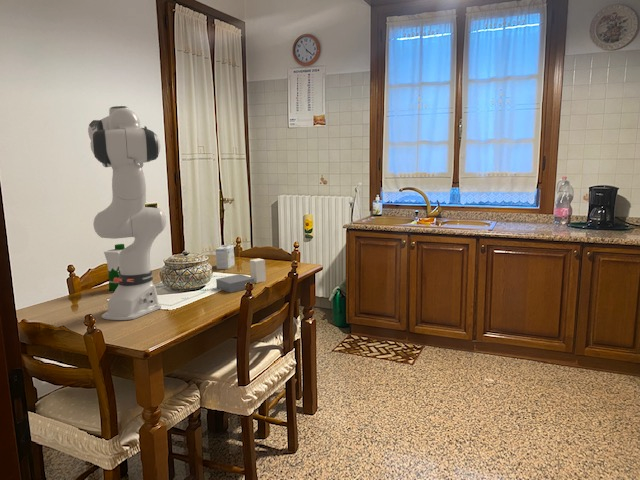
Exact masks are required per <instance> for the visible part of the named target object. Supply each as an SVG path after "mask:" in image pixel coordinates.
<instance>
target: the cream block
mask: <svg viewBox="0 0 640 480" xmlns="http://www.w3.org/2000/svg"><path fill="white" fill-rule="evenodd" d="M249 271H250V273H249V274H250V277H251V278H254V284H255V283H256V284H260V283H264V282H266V281H267V276H266V275H267V274H266V273H267V272H266V259H263V258H253V259H249Z"/></svg>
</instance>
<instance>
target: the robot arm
mask: <svg viewBox="0 0 640 480" xmlns="http://www.w3.org/2000/svg"><path fill="white" fill-rule="evenodd" d="M108 111H109V112H108V113H109V115H107V116H105V117H103V118H102V119H100V120H99V119H94V120H92V121H91V122H90V123H89V124H88V129H87V133H88V136H89V139H90V149H91V153H92V154H93V156H94V158H95V159H96V160H97V161H98V162H99V163H101V164H102V165H101V166H103V167H104V168H111V169H112V176H111V177H112V178H111V191H112V198H111V199H112V201H111V203H110V204H109V205H108V206H107V207H106V208H104V210H102V211H100V212H97V214H96V215H95V216H94V218H93V230H94V232H95V234H97V236H98V237H99V238H102V239H111V240H114V239H116V240H117V239H124V238H125V239H127V238H134V241H132V243H131V244H130V245H128V246H125V248H124V249H123V250H122V251H121V252H120V254H119V264H120V275H119V278H116V277H115V278H114V279H113V281H114V283H118V284H119V285H118V287H117V289H116V290H115V291H113V293H112V295H111V296H110V298H109V299H108V301H107V311H105V312H104V313H103V314H101V318H102V319H104V320H109V321H127V320H135V319H137V318H140V317H142V316H145V315H147V314H150V313H152V312H155V311H157V310H160V309H161V308H162V305H161V304H160V303H159V298H158V293H157V289H156V286H155V284H154V283H153V279H154V276H153V275H154V274H153V270H152V269H151V249H152V245H153V243H154V241H155V240H156V238H157V237H158V236H159V235H160V234H161V233H162V232H163V231H164V230H165V229H166V226H167V218H166V215H165V213H164V212H163V210H162V209H160V208H157V207H150V206H146V203H147V202H146V201H147V198H146V197H147V194H146V193H147V189H146V188H147V187H146V178H145V174H144V171H143V166H144V163H150V162H153V161H155V160H157V159H158V157H159V154H160V152H161V142H160V139H159V138H158V135H157V134H156V133H155V132H154V131H153V130H151V129H149V128H148V127H147V126H146V125H144V127H141V122H140V119H139V117H138V115H137V114H136V113H135V112H134V111H132V110H131V109H129V107H128V106H125V105H124V106H123V105H120V106H119V105H118V106H117V105H116V106H111V107H109V109H108Z"/></svg>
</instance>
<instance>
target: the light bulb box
mask: <svg viewBox="0 0 640 480" xmlns="http://www.w3.org/2000/svg"><path fill="white" fill-rule="evenodd" d="M215 261H216V262H215V263H216V270H228V269H231V267H234V266H235V264H236V262H235V261H236V260H235V249H234V244H230V245H229V244H227V245H226V244H222V245H220V246H219V247H217V248H215Z"/></svg>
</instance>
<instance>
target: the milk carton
mask: <svg viewBox="0 0 640 480" xmlns="http://www.w3.org/2000/svg"><path fill="white" fill-rule="evenodd" d="M124 248H126V246H125V244H124V243H118V244H114V248H112V249H108V250H105V251H103V254H104V257H105V260H106V265H107V274H108V291H110V292H115V290H116V289H117V287H118V285H119V284H118V283H114V281H113V279H114V278H115V277H116V278H119V275H120V264H119V254H120V252H121V251H122V250H123V249H124Z"/></svg>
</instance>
